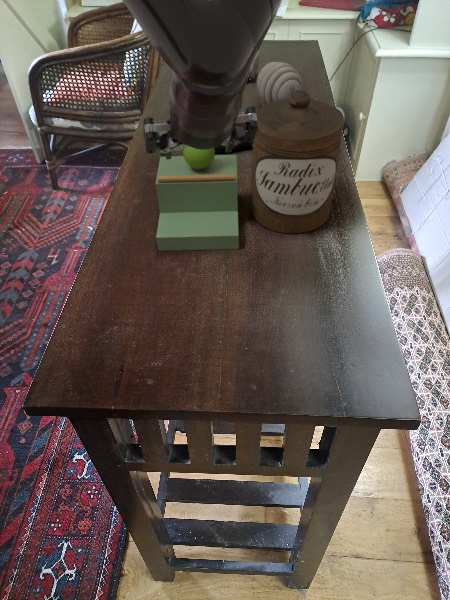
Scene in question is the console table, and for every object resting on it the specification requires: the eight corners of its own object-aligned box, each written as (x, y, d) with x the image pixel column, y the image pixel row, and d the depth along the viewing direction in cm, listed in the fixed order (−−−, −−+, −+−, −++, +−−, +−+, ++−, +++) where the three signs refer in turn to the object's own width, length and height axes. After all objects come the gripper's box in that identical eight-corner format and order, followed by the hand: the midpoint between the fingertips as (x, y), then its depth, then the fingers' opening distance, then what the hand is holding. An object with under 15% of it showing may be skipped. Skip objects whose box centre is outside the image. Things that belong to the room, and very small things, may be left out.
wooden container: (252, 235, 82) (254, 114, 66) (250, 188, 92) (251, 74, 76) (335, 233, 81) (358, 112, 65) (324, 187, 91) (341, 72, 75)
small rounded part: (177, 161, 82) (169, 94, 74) (212, 157, 83) (209, 90, 74) (181, 177, 79) (173, 109, 70) (217, 173, 79) (214, 104, 71)
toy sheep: (276, 94, 122) (279, 49, 114) (316, 118, 112) (322, 70, 104) (243, 104, 119) (243, 58, 111) (281, 129, 108) (284, 81, 100)
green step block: (158, 251, 80) (149, 202, 72) (166, 198, 90) (159, 151, 83) (238, 249, 79) (238, 200, 72) (237, 196, 90) (236, 149, 83)
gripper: (265, 60, 49) (243, 117, 65) (132, 73, 48) (143, 127, 64) (274, 130, 50) (250, 169, 66) (143, 144, 48) (151, 181, 64)
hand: (197, 149), depth 65 cm, fingers open, 8 cm apart
